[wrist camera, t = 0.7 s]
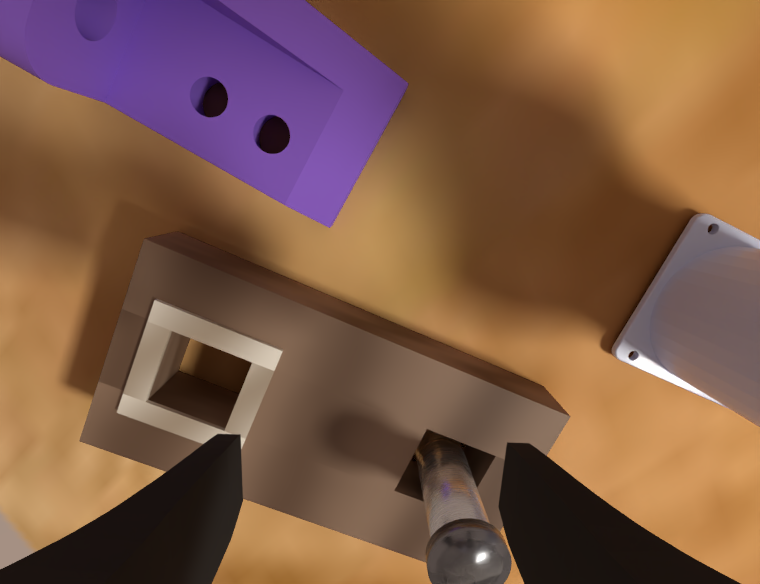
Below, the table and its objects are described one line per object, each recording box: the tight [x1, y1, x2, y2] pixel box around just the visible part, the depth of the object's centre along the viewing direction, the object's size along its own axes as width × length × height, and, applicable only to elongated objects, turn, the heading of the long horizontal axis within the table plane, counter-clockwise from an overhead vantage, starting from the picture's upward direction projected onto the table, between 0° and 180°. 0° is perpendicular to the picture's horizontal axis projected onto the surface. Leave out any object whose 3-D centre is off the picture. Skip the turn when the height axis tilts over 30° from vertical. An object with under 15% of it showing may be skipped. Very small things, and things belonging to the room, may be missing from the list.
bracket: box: [0, 0, 409, 228], centre depth 15 cm, size 12×7×7 cm, turn 60°
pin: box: [415, 429, 511, 584], centre depth 19 cm, size 3×3×8 cm
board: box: [80, 231, 570, 562], centre depth 20 cm, size 20×10×3 cm, turn 66°
